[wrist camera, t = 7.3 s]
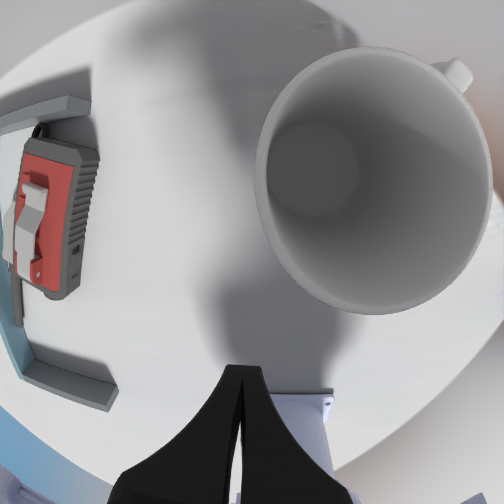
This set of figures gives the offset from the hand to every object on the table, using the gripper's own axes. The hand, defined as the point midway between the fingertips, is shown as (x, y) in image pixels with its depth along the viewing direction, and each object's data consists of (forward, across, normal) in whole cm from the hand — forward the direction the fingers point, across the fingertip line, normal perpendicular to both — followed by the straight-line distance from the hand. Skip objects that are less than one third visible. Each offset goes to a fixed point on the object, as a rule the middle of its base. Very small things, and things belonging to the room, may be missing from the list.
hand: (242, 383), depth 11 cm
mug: (+10, -4, -10) cm, 14 cm away
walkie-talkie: (+10, +17, -2) cm, 20 cm away
